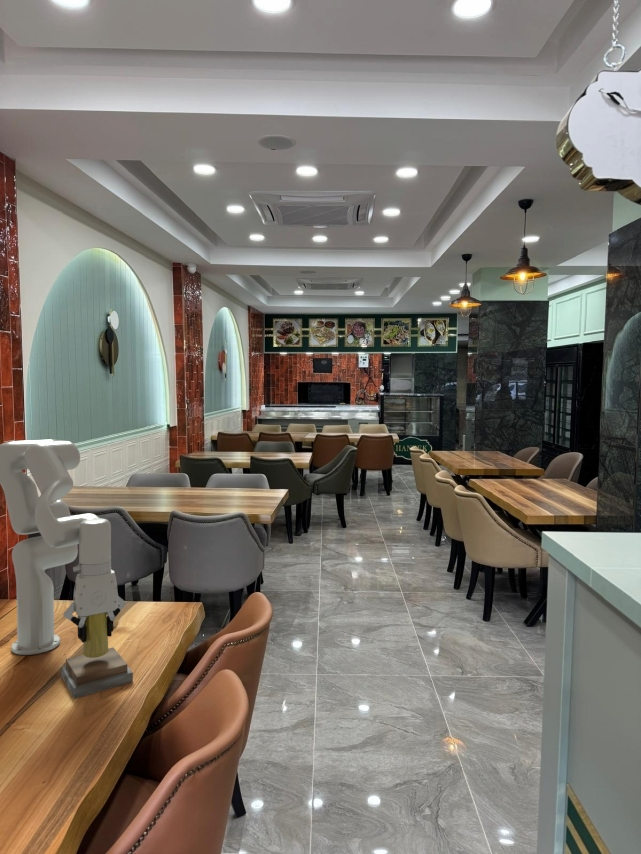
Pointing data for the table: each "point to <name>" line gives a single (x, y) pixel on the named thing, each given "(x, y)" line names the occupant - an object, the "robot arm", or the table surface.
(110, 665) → the stand
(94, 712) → the table surface
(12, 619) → the table surface
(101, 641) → the vase
